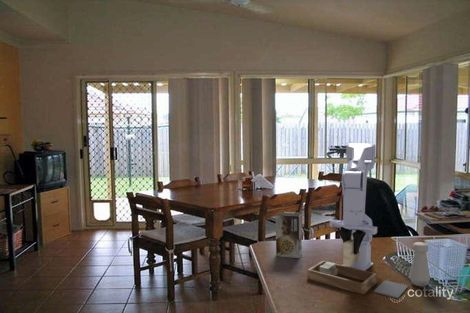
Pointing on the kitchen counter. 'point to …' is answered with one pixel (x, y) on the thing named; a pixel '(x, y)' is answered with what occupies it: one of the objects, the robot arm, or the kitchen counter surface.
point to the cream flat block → (350, 253)
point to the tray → (339, 282)
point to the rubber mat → (391, 289)
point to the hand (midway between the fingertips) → (352, 252)
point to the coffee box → (288, 234)
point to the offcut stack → (329, 268)
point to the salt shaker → (420, 265)
